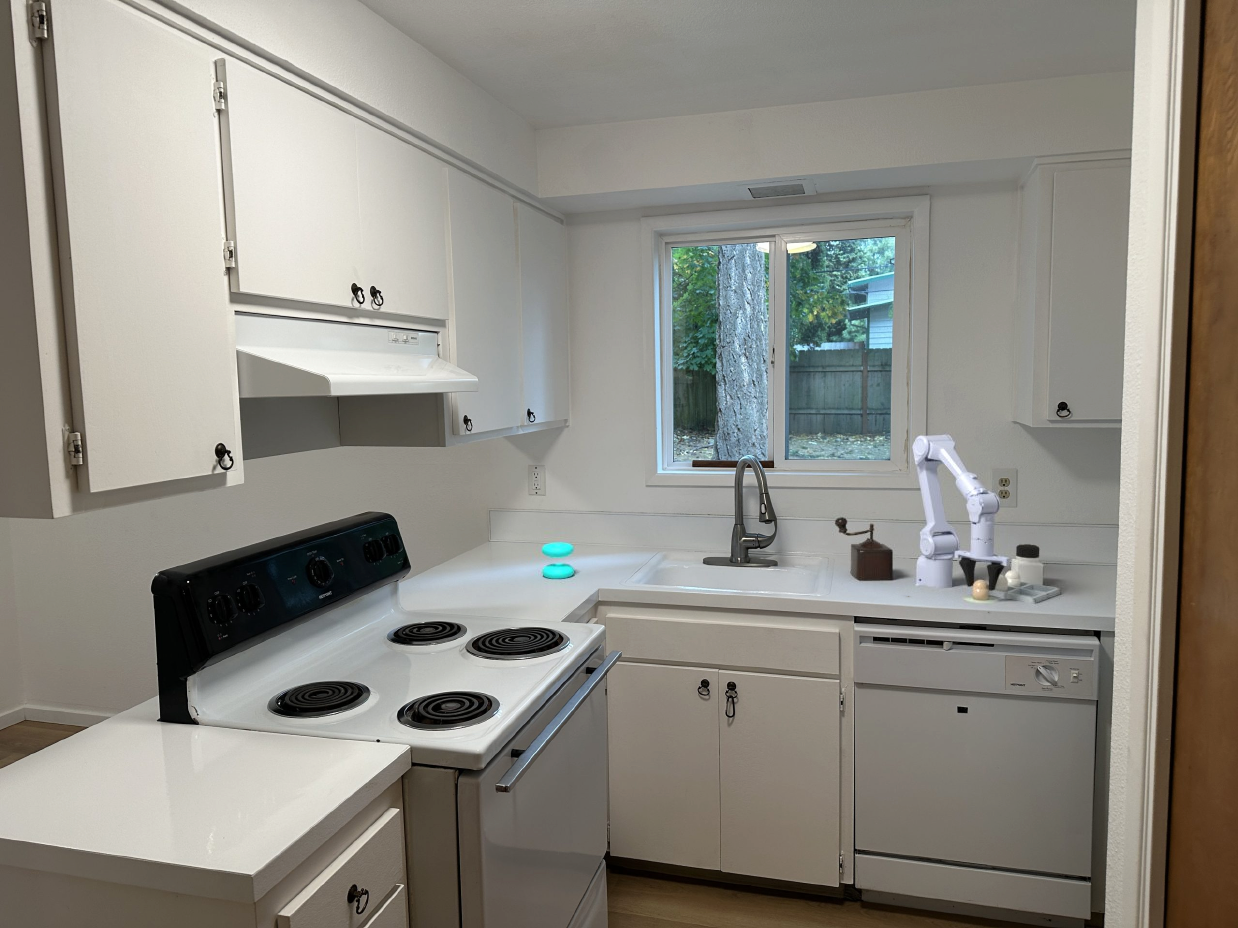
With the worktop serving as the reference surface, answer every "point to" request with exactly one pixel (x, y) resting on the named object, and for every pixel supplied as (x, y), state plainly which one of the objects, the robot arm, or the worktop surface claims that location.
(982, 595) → the egg brown
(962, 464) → the robot arm
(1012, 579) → the egg white back
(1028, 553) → the medicine bottle
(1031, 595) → the carton
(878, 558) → the manual coffee grinder
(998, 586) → the egg white front
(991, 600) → the saucer
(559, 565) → the cyan oval discs
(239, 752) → the worktop surface
